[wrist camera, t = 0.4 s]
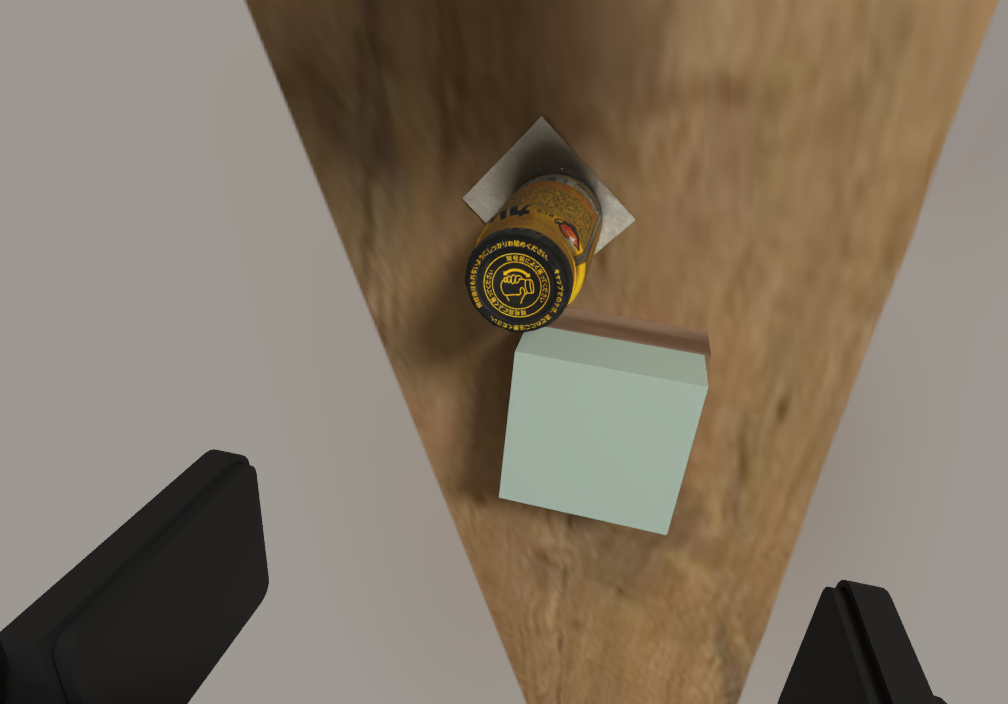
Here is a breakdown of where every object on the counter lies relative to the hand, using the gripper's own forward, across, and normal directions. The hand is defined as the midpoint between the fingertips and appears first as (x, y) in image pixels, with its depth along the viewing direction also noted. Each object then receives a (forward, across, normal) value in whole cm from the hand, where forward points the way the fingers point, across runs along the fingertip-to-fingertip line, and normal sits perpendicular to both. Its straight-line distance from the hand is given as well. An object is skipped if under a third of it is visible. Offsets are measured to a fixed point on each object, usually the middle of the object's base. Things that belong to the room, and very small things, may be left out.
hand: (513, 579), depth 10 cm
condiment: (+32, +4, +1) cm, 33 cm away
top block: (+29, -1, +14) cm, 32 cm away
